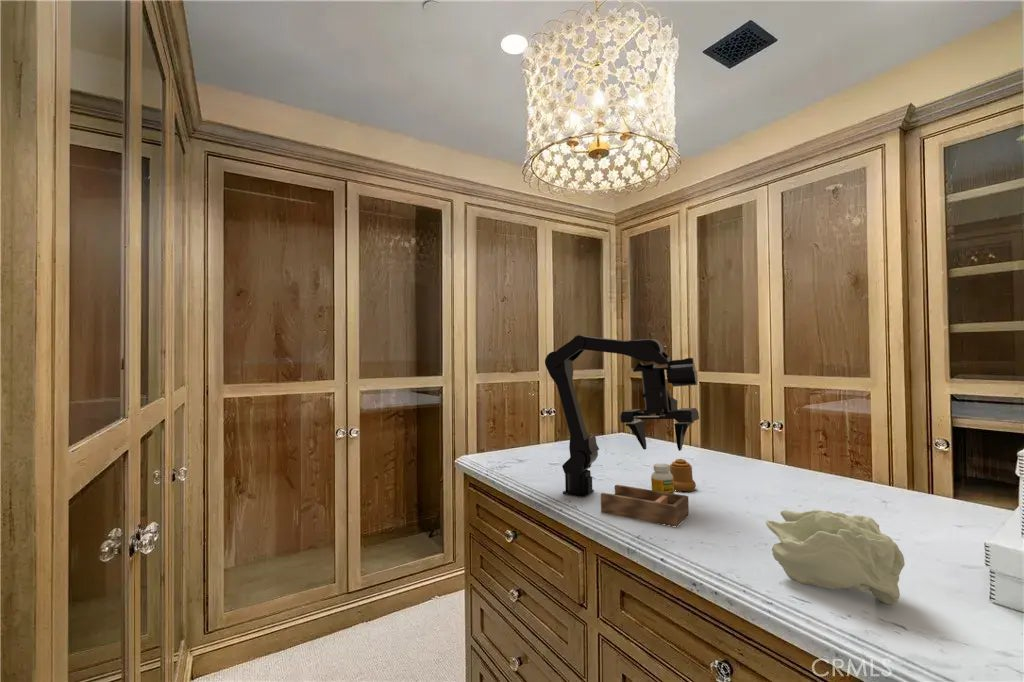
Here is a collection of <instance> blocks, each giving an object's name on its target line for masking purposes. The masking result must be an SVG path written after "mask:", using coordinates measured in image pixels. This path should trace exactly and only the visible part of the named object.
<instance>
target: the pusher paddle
mask: <svg viewBox="0 0 1024 682" xmlns="http://www.w3.org/2000/svg"><path fill="white" fill-rule="evenodd" d="M655 502H660V503H666V504H668V496H664V495H662V496H661V497H660V498H658V499H657V500H656V501H655Z"/></svg>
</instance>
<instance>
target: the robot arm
mask: <svg viewBox="0 0 1024 682" xmlns="http://www.w3.org/2000/svg"><path fill="white" fill-rule="evenodd" d="M584 351H594V352H601V353H602V352H603V353H610V354H617V355H618V354H619V355H624V356H628V357H630V358H633V359H636V360H638V361H639V362H637V364H636V366H635V367H634V368H633V369H632V372H633V373H636V372H640V373H641V380H642V381H641V382H642V389H643V393H641V398H643V399H644V407H645V409H643V411H642V409H641V408H639V409H638V408H636V409H634V408H633V409H627V410H624V411H621V412H620V416H619V419H620V420H619V421H620V423H622V424H623V423H625V427H628V428H629V429H630V430H631V432H632V433H633V434H634V436H635V437H636V439H637V441H638V442H639V443H638V444H640V446H641V447H642V449H643V450H647V440H646V433H645V423H646V421H645V420H675V421H676V423H674V433H675V439H676V447H677V450H678V452H680V451H682V450H683V445H684V441H685V440H684V439H685V436H686V432H687V430H688V428H689V426H690V425H692V424H694V423H695V421H698V420H700V414H699V411H698V409H697V408H696V407H684V408H683V407H682V408H679V409H678V400H677V399H675V397H672V396H671V395H670V394H671V393H670V390H668V389H667V383H668V384H671V385H672V387H689V386H697V385H698V370H697V369H696V364H695V362H694V358H693V357H687V358H684V359H682V358H681V359H674V360H673V359H672V358H671V357H670V356H669V355H668V354H667V353H666V352H665V351H664V346H663V344H662V343H661V342H660V341H659V340H658V339H654V338H652V339H651V338H650V339H649V338H646V339H644V338H643V339H642V338H641V339H631V340H629V339H628V340H623V339H613V338H603V337H594V336H587V335H586V334H585V335H582V334H578V335H576V336H574V337H573V338H572V339H571V340H570V341H568V342H567V343H565V344H564V345H562V346H561V347H560V348H558V349H557V350H556V351H551V352H549V353H548V354H547V355H546V357H545V359H544V365H545V367H546V369H547V373H548V374H549V376H550V378H551V380H552V381H553V382H554V383H555V385H556V387H557V391H558V395H559V399H560V402H561V407H562V409H563V413H564V417H565V421H566V424H567V429H568V432H569V458H568V459H567V460H566V461H565V462H564V463H563V464H562V466H561V467H562V470H563V472H564V477H565V478H564V480H565V481H564V482H565V483H564V484H565V490H563V491H562V494H563V495H567V496H573V497H578V498H585V497H587V496H589V495H591V494H592V493H594V492H595V490H594V489H593V477H592V476H591V473H592V472H591V470H589V469H590V468H591V466H592V464H593V463H594V462H595V461H596V460H597V458H598V456H599V452H598V451H599V450H600V447H599V446H598V444H597V437H596V435H592V436H591V435H590V433H588V431H587V429H586V425H585V421H584V418H583V415H582V410H581V407H580V404H579V400H578V396H577V392H576V389H575V385H574V363H573V362H574V361H576V360H577V359H578V358H579V357H580V356H581V354H583V352H584ZM642 361H643V362H646V363H647V364H644V363H643V362H642ZM650 362H652V363H650ZM656 364H657V365H661V366H662V365H667V366H662V367H661V366H660V367H659V366H658V367H657V365H656ZM665 371H666V372H665ZM652 414H653V415H652ZM654 414H655V415H654Z"/></svg>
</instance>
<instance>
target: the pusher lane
mask: <svg viewBox="0 0 1024 682" xmlns="http://www.w3.org/2000/svg"><path fill="white" fill-rule="evenodd" d="M662 495H664V496H668V504H666V503H660V502H655V501H656V500H657V499H658V498H660V497H661V496H662ZM689 505H690V504H689V496H688V495H685V494H679V493H674V494H673V493H666V492H660V491H654V490H652V489H647V488H640V487H639V488H638V487H634V486H628V485H621V484H615V485H614V493H607V492H601V493H600V512H601V513H603V514H607V515H612V516H617V517H622V518H627V519H633V520H638V521H642V522H648V523H652V524H653V523H654V524H657V523H659V524H658V525H662V524H665V525H664V526H667V525H670V526H669V527H672V526H676V527H675V528H678V527H677V526H678V525H679V524H680V523H681V522H682V521H683V520H684V519H685V518H686V517H687V516H688V515H689V516H690V510H689V509H690V506H689ZM689 516H688V517H689ZM688 517H687V518H688ZM687 518H686V519H687ZM686 519H685V520H686ZM685 520H684V521H685ZM684 521H683V522H684ZM683 522H682V523H683ZM682 523H681V524H682ZM681 524H680V525H681ZM680 525H679V526H680Z"/></svg>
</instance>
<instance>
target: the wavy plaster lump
mask: <svg viewBox="0 0 1024 682" xmlns="http://www.w3.org/2000/svg"><path fill="white" fill-rule="evenodd" d="M780 515H781V516H782V518H783V520H784V521H782V522H778V521H777V522H776V521H774V520H767V521H765V525H766V526H767V528H768V529H769V530H770V531H771V532H772V533H773V534H774V535H775V536H777V538H778V539H779V542H777V543H774V544H773V545H772V546H771V547H772V548H771V551H772V556H773V558H774V560H775V561H777V562H778V564H779V565H780V567H782V569H783V571H784V573H785V574H786V576H787V577H788V578H789V579H790V580H791V581H797V582H798V583H800V584H803V585H814V586H820V587H823V588H825V589H833V590H845V589H853V588H855V589H857V590H859V591H861V592H864V593H867V592H869V591H870V593H871V594H872V595H873V596H874V597H875V598H876V599H877V600H879V601H880V602H882V603H884V604H886V605H892V604H895V603H897V602H898V601H899V600H900V595H901V594H900V587H899V581H900V575H901V571H902V570H903V569H904V567H905V564H906V563H905V557H904V554H903V553H902V551H901V550H900V548H899V546H898V544H897V543H896V542H895V541H894V540H893V539H892V538H891V537H890V536H889V535H887V534H884V533H882V531H881V530H880V525H879V524H878V523H877V522H876V520H875V519H874V518H872V517H869V516H865V515H860V514H855V515H853V516H851V515H847V514H845V513H843V512H834V511H833V512H832V511H829V510H821V509H813V510H809V511H804V512H803V511H802V512H799V511H793V510H788V509H784V510H781V511H780Z"/></svg>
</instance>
